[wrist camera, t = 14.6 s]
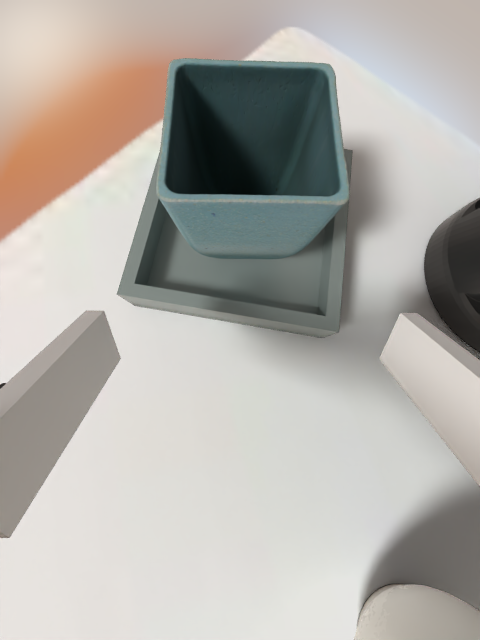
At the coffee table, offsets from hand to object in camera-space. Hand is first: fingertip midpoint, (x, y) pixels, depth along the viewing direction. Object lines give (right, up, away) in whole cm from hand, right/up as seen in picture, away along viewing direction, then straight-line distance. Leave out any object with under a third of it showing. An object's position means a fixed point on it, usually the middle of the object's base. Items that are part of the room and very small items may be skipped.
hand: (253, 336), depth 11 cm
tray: (0, +8, +10) cm, 13 cm away
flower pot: (0, +8, +9) cm, 13 cm away
